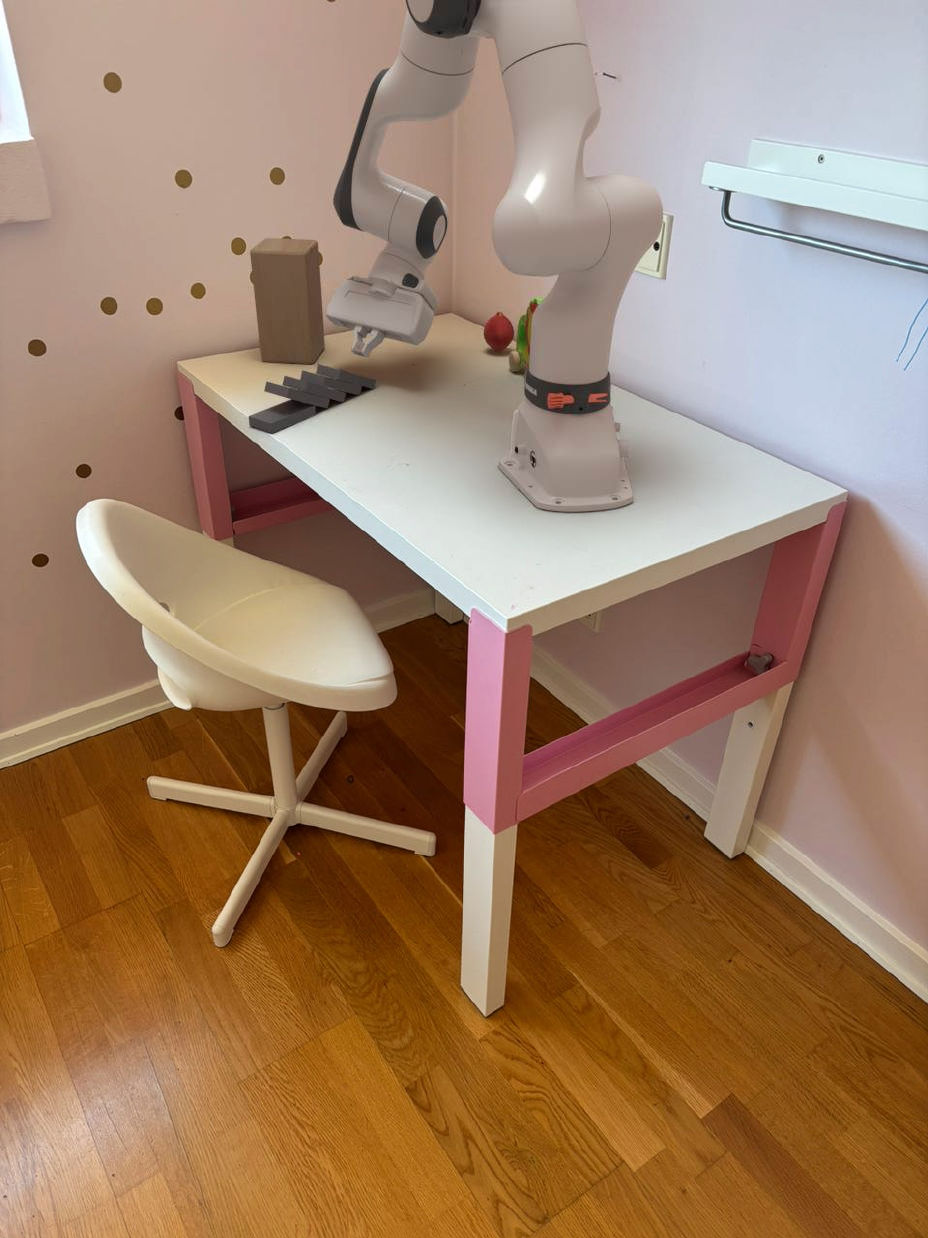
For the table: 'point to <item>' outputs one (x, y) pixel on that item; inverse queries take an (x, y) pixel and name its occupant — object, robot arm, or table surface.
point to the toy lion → (523, 339)
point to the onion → (498, 332)
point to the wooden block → (288, 300)
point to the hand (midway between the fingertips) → (359, 354)
